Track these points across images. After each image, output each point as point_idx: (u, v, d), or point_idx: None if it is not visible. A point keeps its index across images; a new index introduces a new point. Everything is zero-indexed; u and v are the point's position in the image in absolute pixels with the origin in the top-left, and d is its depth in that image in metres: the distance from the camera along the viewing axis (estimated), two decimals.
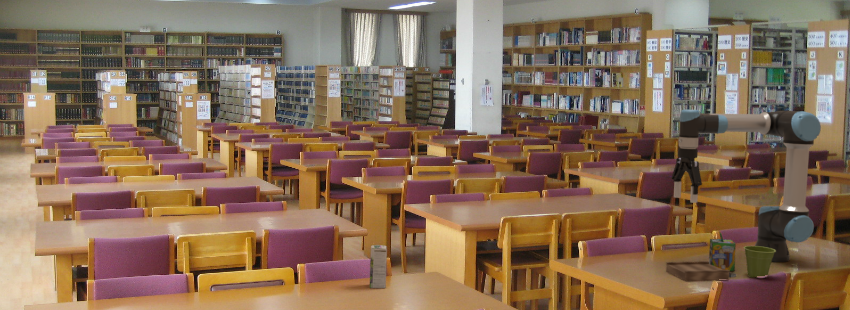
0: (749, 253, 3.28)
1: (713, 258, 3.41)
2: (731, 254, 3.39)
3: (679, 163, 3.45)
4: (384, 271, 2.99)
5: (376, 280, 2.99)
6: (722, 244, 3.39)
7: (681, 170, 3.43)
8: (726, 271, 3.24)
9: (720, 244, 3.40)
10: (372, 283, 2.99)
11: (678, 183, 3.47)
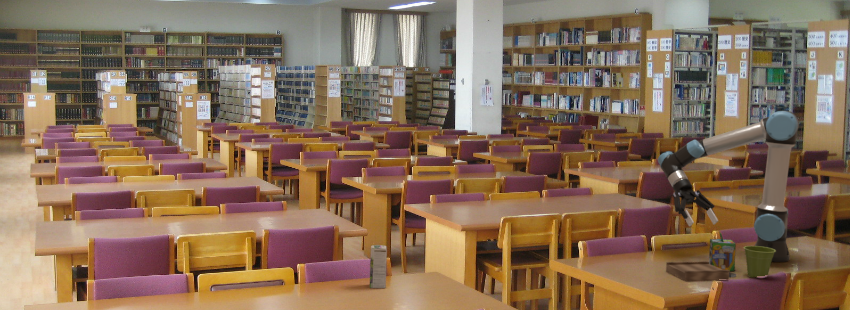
0: (749, 253, 3.28)
1: (713, 258, 3.41)
2: (731, 254, 3.39)
3: (697, 196, 3.63)
4: (384, 271, 2.99)
5: (376, 280, 2.99)
6: (722, 244, 3.39)
7: (695, 201, 3.61)
8: (726, 271, 3.24)
9: (720, 244, 3.40)
10: (372, 283, 2.99)
11: (708, 211, 3.59)
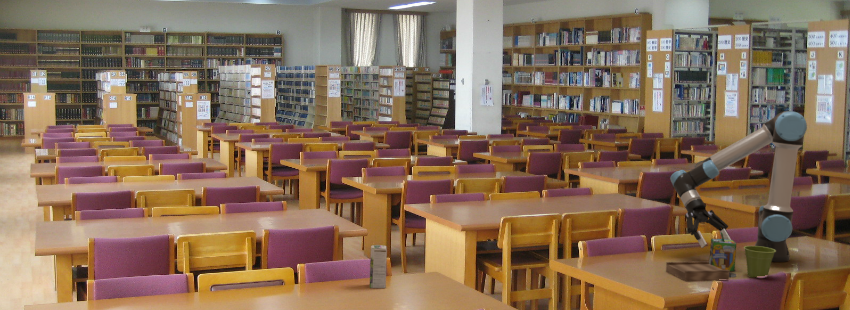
0: (749, 253, 3.28)
1: (713, 258, 3.41)
2: (731, 254, 3.39)
3: (710, 216, 3.56)
4: (384, 271, 2.99)
5: (376, 280, 2.99)
6: (723, 244, 3.39)
7: (708, 222, 3.54)
8: (726, 271, 3.24)
9: (721, 244, 3.40)
10: (372, 283, 2.99)
11: (722, 231, 3.51)
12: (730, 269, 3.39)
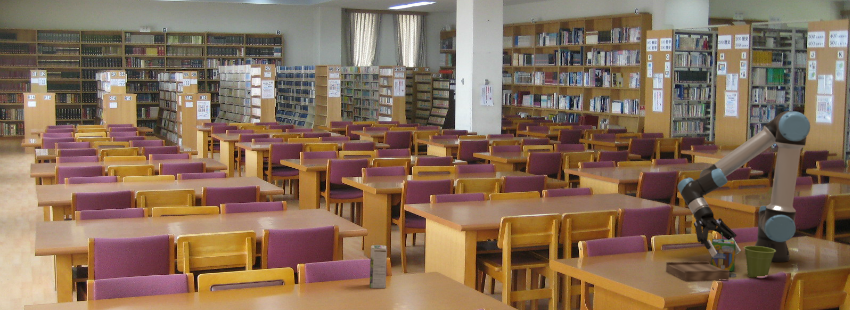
0: (749, 253, 3.28)
1: (712, 258, 3.41)
2: (730, 254, 3.38)
3: None
4: (384, 271, 2.99)
5: (376, 280, 2.99)
6: (722, 244, 3.39)
7: (716, 230, 3.50)
8: (726, 271, 3.24)
9: (720, 244, 3.39)
10: (372, 283, 2.99)
11: None
12: (730, 269, 3.39)
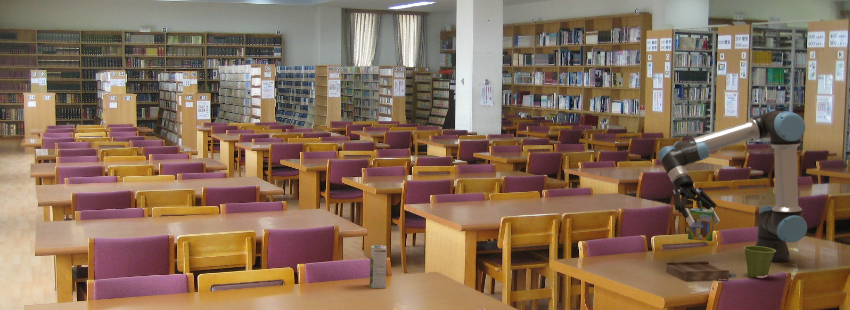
0: (749, 253, 3.28)
1: (690, 227, 3.29)
2: (708, 224, 3.27)
3: (698, 194, 3.41)
4: (384, 271, 2.99)
5: (376, 280, 2.99)
6: (699, 213, 3.28)
7: (696, 199, 3.39)
8: (726, 271, 3.24)
9: (697, 213, 3.28)
10: (372, 283, 2.99)
11: None
12: (707, 239, 3.27)
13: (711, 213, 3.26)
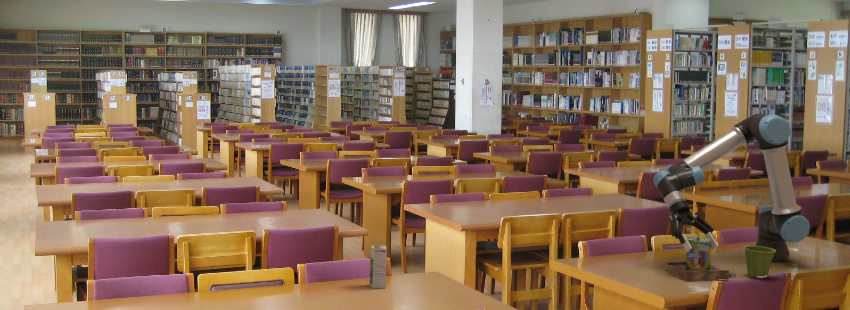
0: (749, 253, 3.28)
1: (687, 257, 3.26)
2: (706, 254, 3.24)
3: None
4: (384, 271, 2.99)
5: (376, 280, 2.99)
6: (697, 243, 3.25)
7: (693, 224, 3.36)
8: (726, 271, 3.24)
9: (695, 243, 3.25)
10: (372, 283, 2.99)
11: (707, 235, 3.34)
12: (705, 269, 3.25)
13: (708, 243, 3.24)
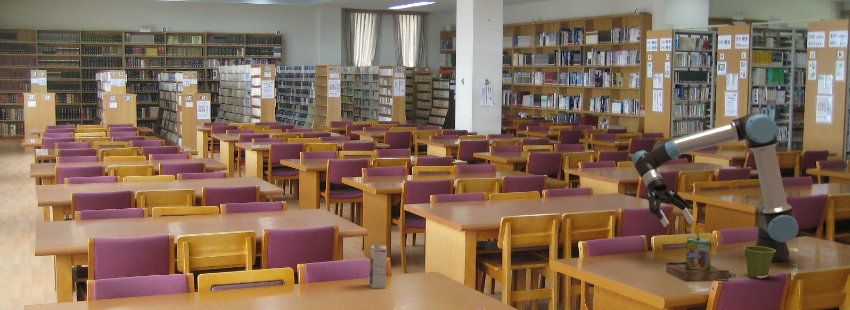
0: (749, 253, 3.28)
1: (687, 257, 3.26)
2: (706, 254, 3.24)
3: None
4: (384, 271, 2.99)
5: (376, 280, 2.99)
6: (697, 243, 3.25)
7: (670, 201, 3.50)
8: (726, 271, 3.24)
9: (695, 243, 3.25)
10: (372, 283, 2.99)
11: (684, 210, 3.48)
12: (705, 269, 3.25)
13: (708, 243, 3.24)
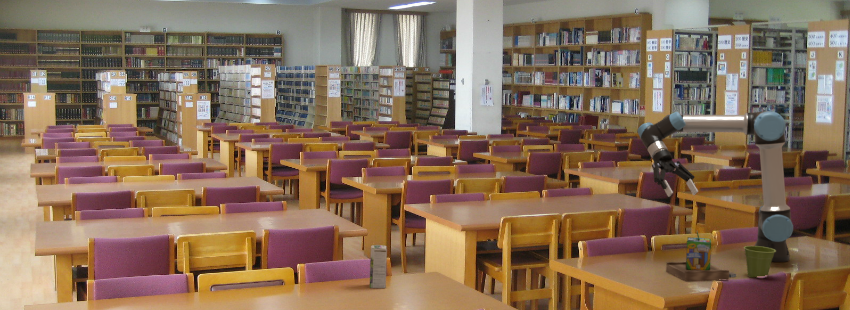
0: (749, 253, 3.28)
1: (687, 257, 3.26)
2: (706, 254, 3.24)
3: (677, 167, 3.57)
4: (384, 271, 2.99)
5: (376, 280, 2.99)
6: (697, 243, 3.25)
7: (675, 172, 3.55)
8: (726, 271, 3.24)
9: (695, 243, 3.25)
10: (372, 283, 2.99)
11: (688, 182, 3.53)
12: (705, 269, 3.25)
13: (708, 243, 3.24)
